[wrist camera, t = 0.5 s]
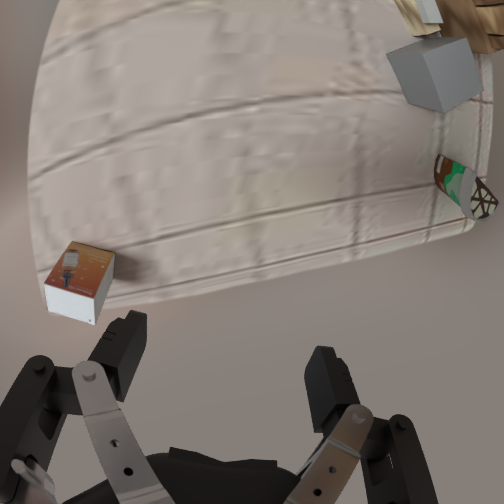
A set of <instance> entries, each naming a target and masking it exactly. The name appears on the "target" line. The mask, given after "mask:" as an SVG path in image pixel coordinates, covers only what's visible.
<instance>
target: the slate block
mask: <svg viewBox="0 0 504 504" xmlns="http://www.w3.org/2000/svg"><path fill="white" fill-rule="evenodd" d="M386 55H387V57H388V59H389V61H390V63H391V65H392V68H393V70H394V72H395V74H396V76H397V78H398V81H399V83H400V85H401V88H402V90H403V92H404V95H405V97H406V100H407V102H408V103H409V104H413V105H417V106H421V107H424V108H428V109H432V110H435V111H439V112H442V113H445V112H447V111H449V110H450V109H452V108H454V107H456V106H457V105H459V104H461V103H463V102H464V101H466V100H468V99H470V98H472V97H473V96H475V95H477V94H479V93H480V92H482V91H484V89H483V85H482V82H481V78H480V75H479V72H478V68H477V65H476V62H475V59H474V56H473V54H472V51H471V48H470V45H469V43H468V40H467V38H463V37H430V38H427V39H424V40H421V41H418V42H416V43H413V44H410V45H408V46H405V47H403V48H400V49H398V50H395V51H393V52H390V53H388V54H386Z"/></svg>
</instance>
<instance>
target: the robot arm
mask: <svg viewBox="0 0 504 504" xmlns="http://www.w3.org/2000/svg"><path fill="white" fill-rule="evenodd" d="M146 341H147V314H145V313H142V312H137V311H134V310H130V311H129V313H128V315H127V317H126V318H125V319H122V318H117V319H116V320H114V321H112V322H111V323H110V324H109V326H108V327H107V329H106V331H105V332H104V334H103V335H102V338H100V340H99V342H98V343H97V345H96V347H95V349H94V350H93V352H92V353H91V355H90V357H89V358H88V360H87V361H82V362H80V363H78V364H77V365H76V366H75V367H73V368H68V367H57V366H54V364H53V362H52V360H51V359H50V358H48V357H46V356H43V355H38V356H34V357H32V358H30V359H29V360H28V361H27V362H26V364H25V365H24V367H23V368H22V370H21V372H20V373H19V375H18V377H17V378H16V380H15V381H14V383H13V385H12V387H11V388H10V390H9V392H8V394H7V395H6V397H5V399H4V401H3V402H2V404H1V406H0V504H58V503H57V501H56V499H55V494H54V492H55V485H54V482H53V480H52V478H51V477H50V476H49V475H48V473H47V469H48V466H49V463H50V460H51V457H52V454H53V451H54V448H55V445H56V443H57V440H58V437H59V435H60V431H61V429H62V427H63V424H64V422H65V419H66V417H67V414H72V415H83V418H84V421H85V424H86V427H87V430H88V433H89V436H90V438H91V441H92V444H93V446H94V449H95V451H96V454H97V456H98V458H99V461H100V463H101V465H102V468H103V470H104V472H105V474H106V476H107V479H106V480H104V481H103V482H101V483H99V484H97V485H95V486H94V487H92V488H90V489H88V490H86V491H84V492H83V493H80V494H79V495H77V496H75V497H73V498H71V499H69V500H67V501H65V502H63V503H62V504H334V503H335V502H336V500H337V499H338V497H339V496H340V494H341V492H342V491H343V489H344V487H345V485H346V484H347V482H348V480H349V478H350V476H351V475H352V473H353V471H354V469H355V467H356V465H357V463H358V462H359V460H361V465H362V471H363V476H364V482H365V488H366V494H367V499H368V504H438V501H437V497H436V493H435V489H434V486H433V482H432V479H431V476H430V473H429V469H428V466H427V463H426V460H425V457H424V454H423V451H422V448H421V445H420V442H419V439H418V436H417V433H416V431H415V428H414V425H413V423H412V421H411V420H410V419H409V418H408V417H406V416H404V415H400V414H396V415H394V416H392V417H391V418H390V419H389V420H384V419H380V418H376V417H373V414H372V412H371V411H370V410H369V409H368V408H367V407H365V406H363V405H361V404H360V401H359V398H358V395H357V392H356V389H355V386H354V384H353V382H352V378H351V376H350V372H349V370H348V367H347V365H346V364H345V363H344V361H343V360H342V359H341V358H337V357H336V354H335V351H334V349H333V347H326V346H317V347H316V348H315V350H314V352H313V354H312V356H311V358H310V361H309V362H308V364H307V366H306V369H305V375H304V379H305V385H306V390H307V395H308V400H309V406H310V412H311V417H312V423H313V428H314V433H323V436H324V437H323V438H322V440H321V441H320V442H319V444H318V445H317V447H316V448H315V450H314V451H313V452H312V454H311V455H310V456H309V458H308V459H307V461H306V462H305V463H304V465H303V466H302V467H301V468H300V469H299V470H298V472H297V473H296V474H293V473H292V472H290V471H288V470H286V469H283V468H280V467H277V461H276V460H258V459H248V460H240V461H231V462H222V461H219V460H216V459H213V458H210V457H208V456H205V455H203V454H200V453H198V452H193V451H188V450H183V449H178V448H173V447H170V450H169V453H157V454H152V455H148V456H144V454H143V452H142V450H141V448H140V446H139V445H138V443H137V441H136V439H135V437H134V435H133V433H132V431H131V429H130V426H129V425H128V422H127V420H126V418H125V416H124V414H123V412H122V410H121V409H120V408H119V406H118V404H117V402H116V400H117V401H120V402H124V399H125V397H126V394H127V392H128V389H129V387H130V384H131V382H132V379H133V377H134V374H135V372H136V369H137V367H138V365H139V362H140V360H141V357H142V355H143V353H144V350H145V347H146ZM389 455H390V456H389ZM390 458H391V461H392V464H391V461H390ZM392 465H393V468H392Z"/></svg>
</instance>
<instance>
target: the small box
mask: <svg viewBox="0 0 504 504" xmlns="http://www.w3.org/2000/svg"><path fill="white" fill-rule="evenodd" d="M114 259H115V253H113V252H108V251H104V250H100V249H97V248H93V247H89V246H86V245H83V244H79V243H76V242H71V243H70V244H69V246H68V247H67V249H66V250H65V252H64V253H63V254H62V256H61V257H60V259H59V260H58V262H57V263H56V265H55V267H54V268H53V270H52V271H51V273H50V274H49V276H48V278H47V279H46V281H45V282H44V286H45V293H46V299H47V305H48V310H49V311H50V312H53V313H58V314H61V315H64V316H67V317H70V318H73V319H77V320H80V321H83V322H86V323H89V324H92V325H96V323H97V320H98V317H99V315H100V312H101V309H102V306H103V304H104V301H105V298H106V296H107V293H108V291H109V288H110V286H111V283H112V281H113V271H114Z"/></svg>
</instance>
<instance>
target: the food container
mask: <svg viewBox="0 0 504 504" xmlns="http://www.w3.org/2000/svg"><path fill="white" fill-rule="evenodd" d="M434 178H435V182H436V184H437V186H438V188H439V189H440V190H442V191H443V192H444V193H445V194H446V195H448V196H449V197H450V198H451V199H452V200H453V201H455V202H456V203H457V204H458V205H459V206H460V207H461V210H462V212H463V214H464V215H465V216H466V217H468V218H469V219H472V220H474V221H477V222H485V221H488V220H489V219H491V218H492V217H493V216H494V215H495V214H496V213H497V212H498V211H499V209H500V207H501V206H502V203H501V202H500V201H498V200H497V199H496V198H495V197H494V196H493V194H492V193H491V192H490V191H489V189H488V188H487V187H486V186H485V185H484V184H483V183H482V181H481V180H480V179H479V178H478V177H477V173H475V172H474V171H473V170H471V169H469V168H468V167H464V166H462V165H460V164H458V163H456V162H454V161H452V160H450V159H448V158H446V157H444V156H442V155H440V154H438V156H437V159H436V162H435V167H434Z"/></svg>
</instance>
